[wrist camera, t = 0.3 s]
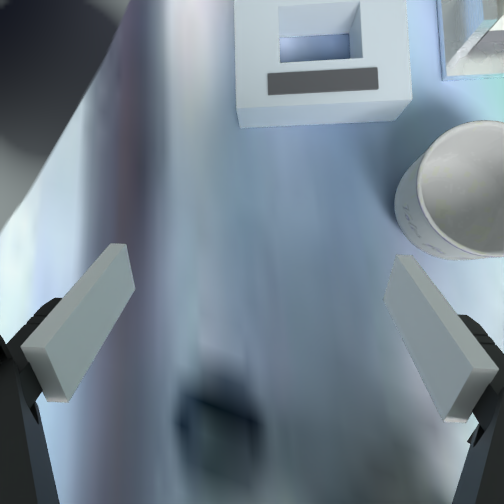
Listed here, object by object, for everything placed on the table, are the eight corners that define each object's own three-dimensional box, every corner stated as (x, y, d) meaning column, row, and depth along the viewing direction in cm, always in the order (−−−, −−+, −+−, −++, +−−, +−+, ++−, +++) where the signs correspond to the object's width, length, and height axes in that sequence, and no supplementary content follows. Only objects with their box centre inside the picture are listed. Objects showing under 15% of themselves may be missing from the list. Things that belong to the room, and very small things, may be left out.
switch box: (395, 120, 33) (414, 97, 28) (240, 128, 34) (235, 106, 29) (387, -7, 34) (404, -48, 29) (237, 3, 35) (232, -35, 30)
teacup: (363, 230, 32) (394, 214, 24) (412, 137, 33) (459, 92, 25) (492, 297, 31) (569, 305, 23) (542, 200, 31) (635, 175, 23)
